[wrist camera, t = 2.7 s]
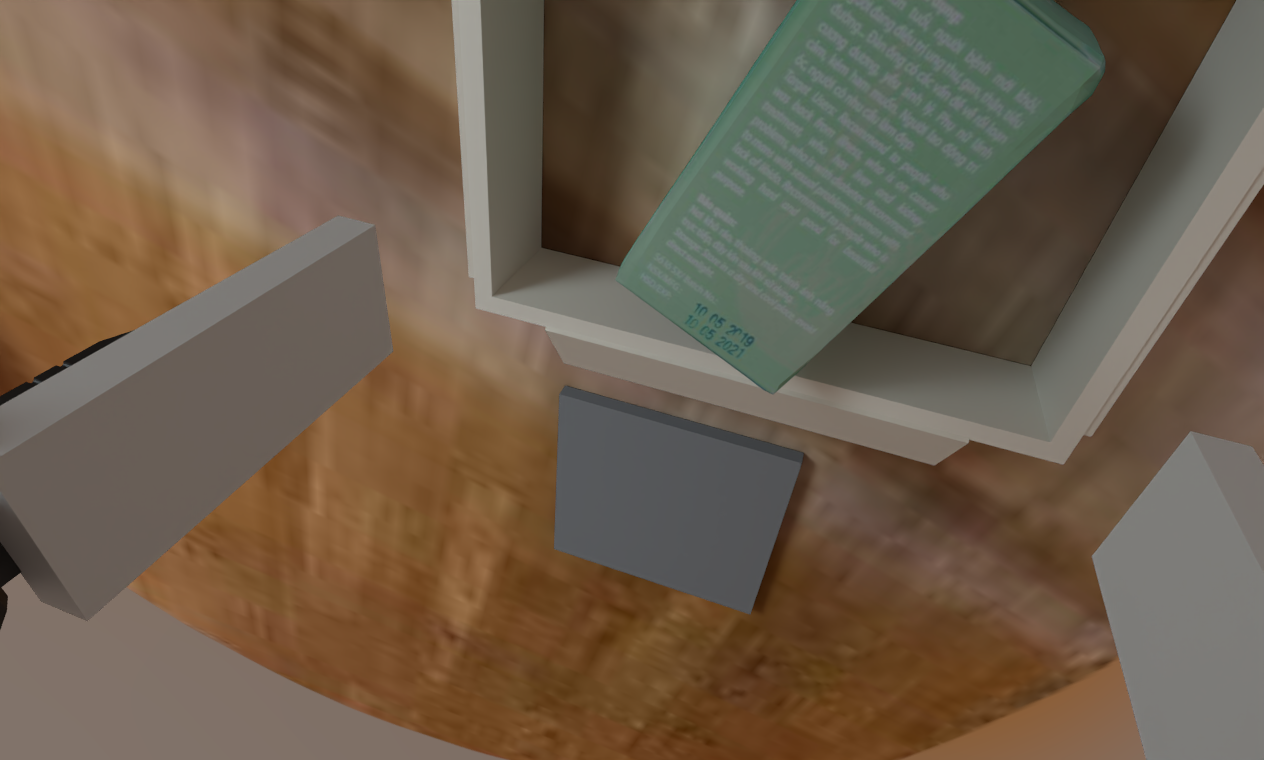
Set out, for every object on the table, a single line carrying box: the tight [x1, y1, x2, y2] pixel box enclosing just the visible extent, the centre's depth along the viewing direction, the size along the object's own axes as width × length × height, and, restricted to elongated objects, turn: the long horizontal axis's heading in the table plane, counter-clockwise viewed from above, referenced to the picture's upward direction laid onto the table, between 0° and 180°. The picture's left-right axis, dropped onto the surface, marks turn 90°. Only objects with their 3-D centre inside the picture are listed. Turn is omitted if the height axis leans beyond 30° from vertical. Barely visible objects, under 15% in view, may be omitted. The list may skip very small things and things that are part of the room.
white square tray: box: [452, 0, 1264, 465], centre depth 23 cm, size 25×24×5 cm
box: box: [615, 0, 1106, 395], centre depth 23 cm, size 7×14×8 cm, turn 150°
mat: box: [554, 386, 804, 614], centre depth 39 cm, size 13×13×1 cm
